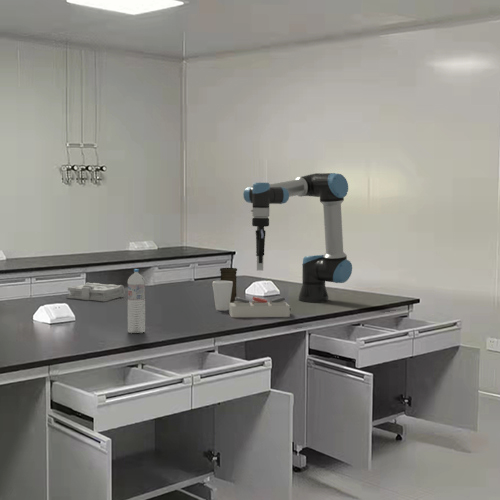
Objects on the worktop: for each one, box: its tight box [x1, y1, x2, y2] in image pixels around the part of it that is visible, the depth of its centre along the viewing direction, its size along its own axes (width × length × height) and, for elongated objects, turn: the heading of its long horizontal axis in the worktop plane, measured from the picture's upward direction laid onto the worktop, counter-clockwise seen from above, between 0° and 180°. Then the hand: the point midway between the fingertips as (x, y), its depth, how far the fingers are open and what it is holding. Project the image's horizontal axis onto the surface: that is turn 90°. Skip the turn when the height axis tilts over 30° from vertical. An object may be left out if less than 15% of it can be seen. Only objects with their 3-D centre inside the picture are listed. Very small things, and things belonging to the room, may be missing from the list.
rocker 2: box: [252, 296, 268, 303], centre depth 340 cm, size 6×4×1 cm, turn 98°
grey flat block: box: [67, 282, 126, 302], centre depth 391 cm, size 19×28×8 cm
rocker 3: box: [269, 295, 286, 303], centre depth 341 cm, size 6×4×1 cm, turn 97°
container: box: [219, 267, 238, 303], centre depth 369 cm, size 9×9×18 cm
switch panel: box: [228, 300, 292, 318], centre depth 343 cm, size 27×10×6 cm, turn 97°
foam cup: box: [212, 280, 233, 311], centre depth 357 cm, size 10×9×13 cm
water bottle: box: [127, 268, 146, 334], centre depth 299 cm, size 7×7×25 cm
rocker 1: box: [235, 296, 250, 303], centre depth 339 cm, size 6×4×1 cm, turn 98°
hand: (259, 270), depth 339 cm, fingers closed
